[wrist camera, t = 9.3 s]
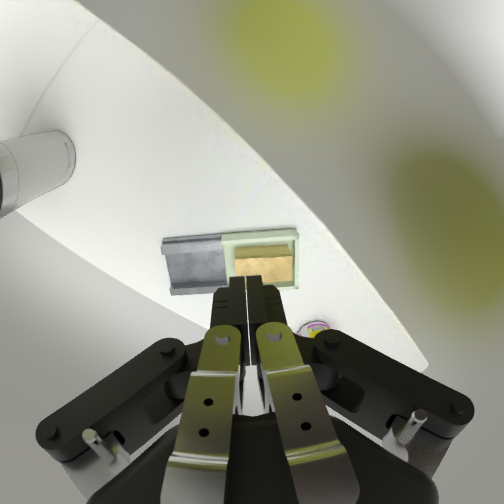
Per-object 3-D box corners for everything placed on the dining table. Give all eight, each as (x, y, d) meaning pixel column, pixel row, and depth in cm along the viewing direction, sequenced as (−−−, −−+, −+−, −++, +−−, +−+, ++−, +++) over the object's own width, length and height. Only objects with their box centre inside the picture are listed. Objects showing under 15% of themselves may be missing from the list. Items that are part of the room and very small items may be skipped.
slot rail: (174, 288, 46) (171, 297, 44) (163, 238, 42) (160, 245, 40) (227, 285, 46) (227, 293, 44) (222, 233, 43) (221, 240, 40)
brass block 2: (262, 269, 45) (264, 282, 41) (261, 246, 43) (263, 258, 40) (287, 267, 45) (291, 280, 42) (287, 244, 43) (292, 256, 40)
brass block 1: (236, 270, 45) (236, 284, 41) (234, 247, 43) (234, 259, 40) (262, 268, 45) (264, 282, 41) (261, 245, 43) (263, 257, 40)
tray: (227, 285, 46) (227, 294, 44) (222, 233, 43) (221, 241, 40) (294, 279, 47) (298, 288, 44) (295, 228, 43) (299, 235, 40)
